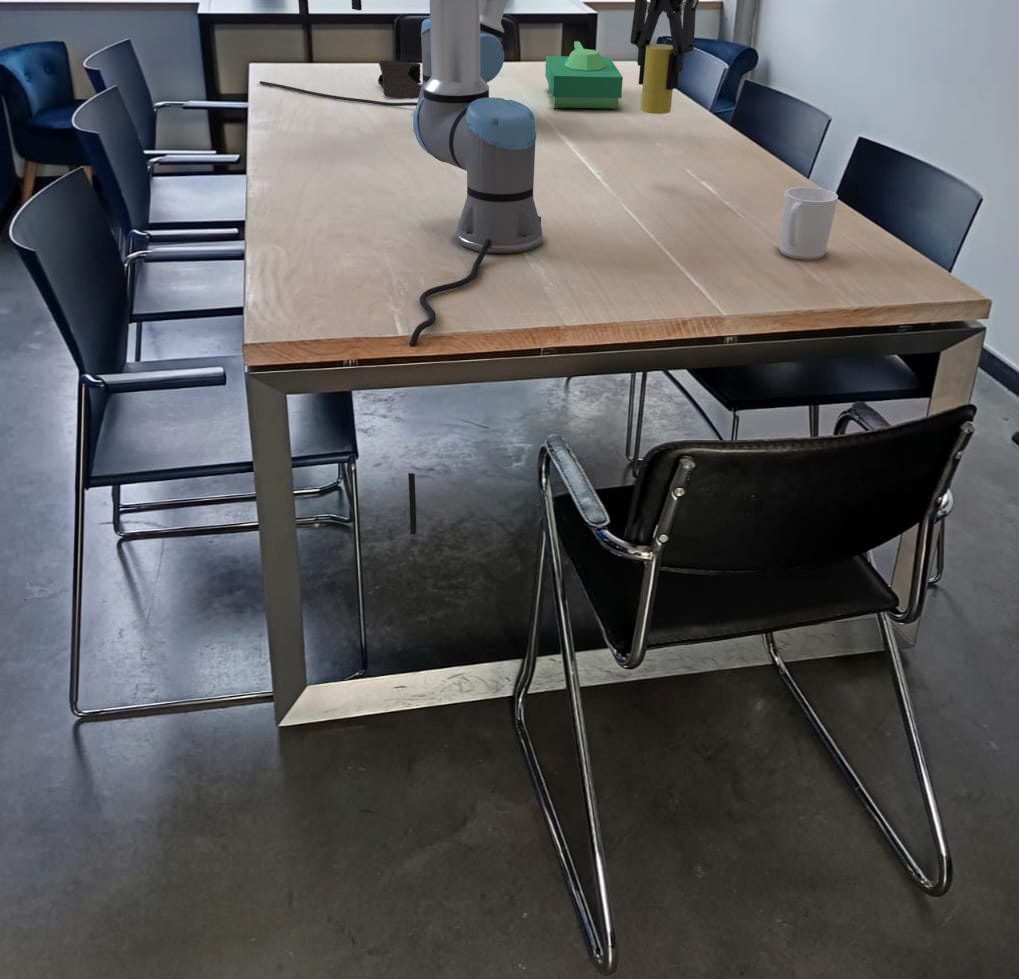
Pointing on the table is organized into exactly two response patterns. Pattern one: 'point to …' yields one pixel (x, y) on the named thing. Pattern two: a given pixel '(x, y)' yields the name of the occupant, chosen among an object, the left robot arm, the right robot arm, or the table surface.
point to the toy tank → (583, 80)
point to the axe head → (400, 79)
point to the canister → (656, 80)
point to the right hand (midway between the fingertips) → (657, 85)
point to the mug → (806, 222)
